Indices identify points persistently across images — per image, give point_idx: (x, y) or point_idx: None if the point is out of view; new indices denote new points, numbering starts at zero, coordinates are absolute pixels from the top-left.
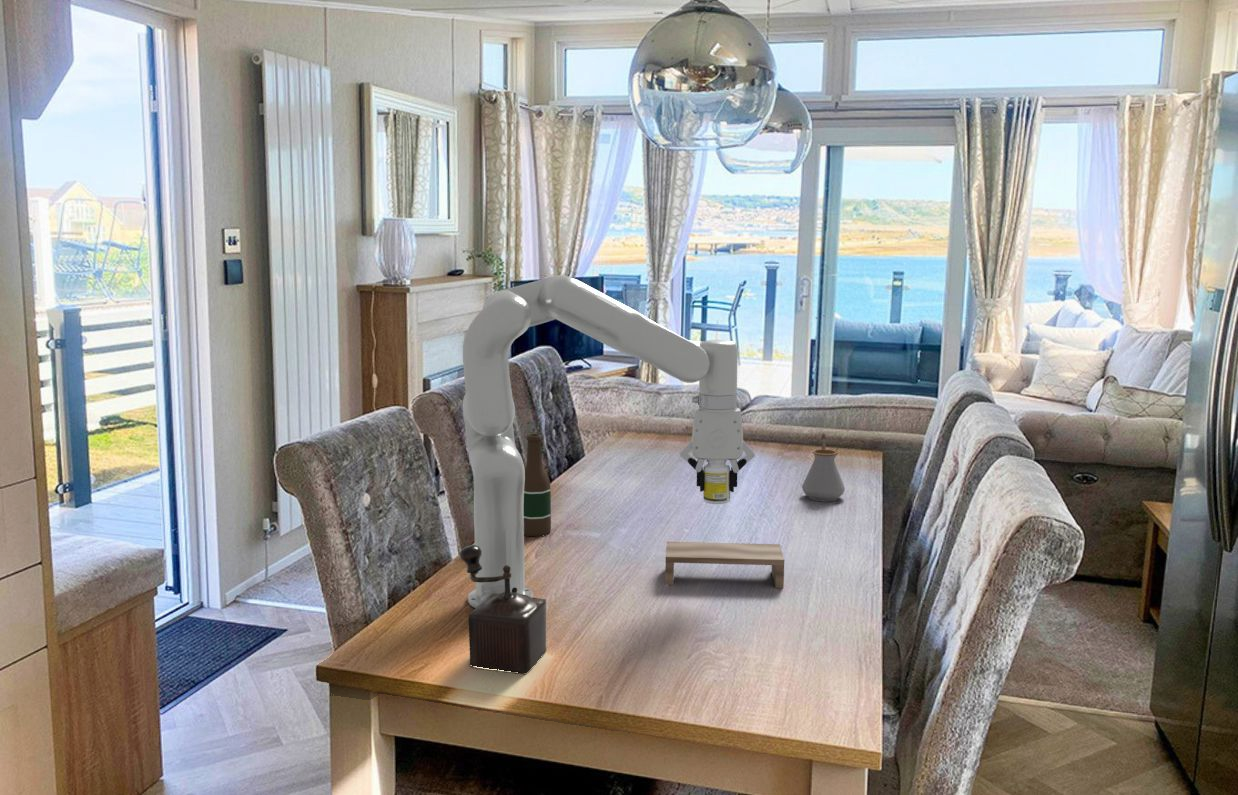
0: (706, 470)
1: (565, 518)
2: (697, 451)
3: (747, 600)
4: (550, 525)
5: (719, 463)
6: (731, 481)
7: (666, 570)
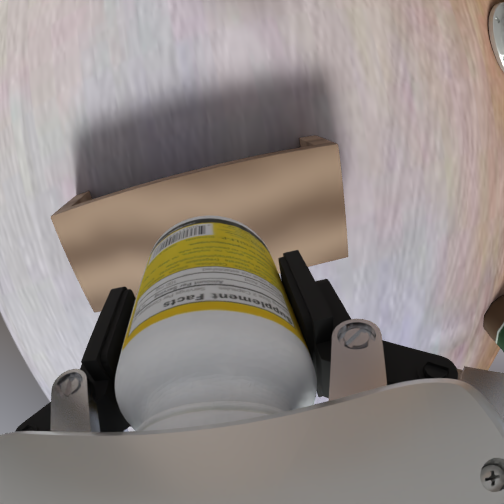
0: (287, 338)
1: (459, 368)
2: (465, 439)
3: (125, 101)
4: (490, 322)
5: (172, 409)
6: (109, 322)
7: (323, 139)
